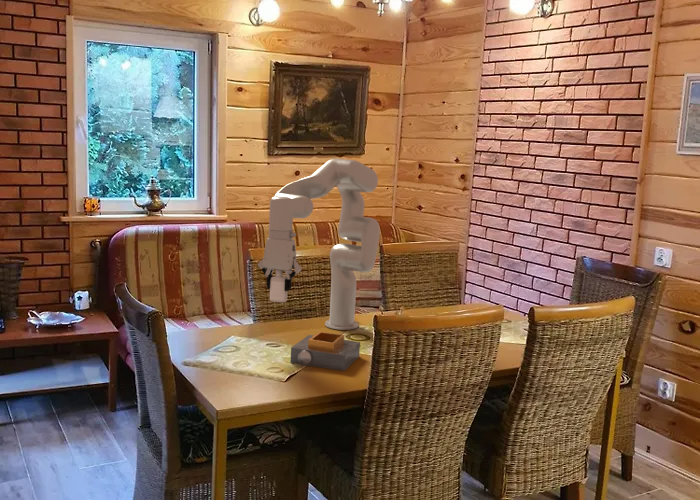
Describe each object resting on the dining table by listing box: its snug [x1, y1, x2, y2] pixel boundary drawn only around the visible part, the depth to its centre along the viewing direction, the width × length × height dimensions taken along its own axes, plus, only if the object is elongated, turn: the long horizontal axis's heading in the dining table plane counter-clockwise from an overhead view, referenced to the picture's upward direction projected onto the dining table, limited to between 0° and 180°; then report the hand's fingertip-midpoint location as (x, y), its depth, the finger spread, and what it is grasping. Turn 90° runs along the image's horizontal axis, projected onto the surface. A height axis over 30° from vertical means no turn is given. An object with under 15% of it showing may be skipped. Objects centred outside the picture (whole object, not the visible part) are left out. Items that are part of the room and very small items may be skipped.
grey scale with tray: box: [290, 331, 361, 372], centre depth 234 cm, size 18×18×8 cm
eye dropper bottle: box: [269, 269, 288, 303], centre depth 237 cm, size 4×6×12 cm
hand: (278, 288), depth 237 cm, fingers closed on eye dropper bottle, 5 cm apart
